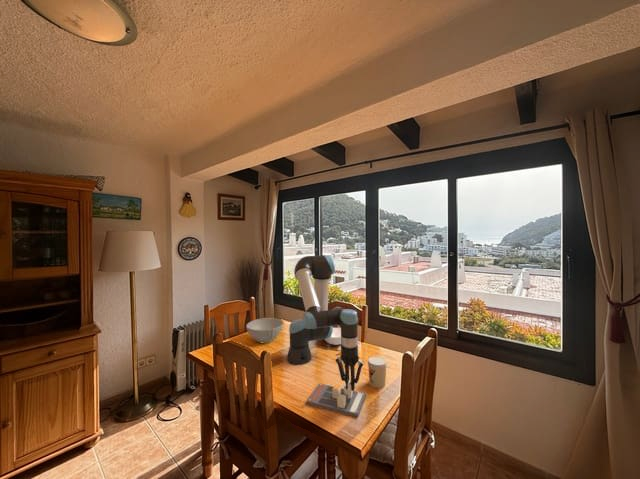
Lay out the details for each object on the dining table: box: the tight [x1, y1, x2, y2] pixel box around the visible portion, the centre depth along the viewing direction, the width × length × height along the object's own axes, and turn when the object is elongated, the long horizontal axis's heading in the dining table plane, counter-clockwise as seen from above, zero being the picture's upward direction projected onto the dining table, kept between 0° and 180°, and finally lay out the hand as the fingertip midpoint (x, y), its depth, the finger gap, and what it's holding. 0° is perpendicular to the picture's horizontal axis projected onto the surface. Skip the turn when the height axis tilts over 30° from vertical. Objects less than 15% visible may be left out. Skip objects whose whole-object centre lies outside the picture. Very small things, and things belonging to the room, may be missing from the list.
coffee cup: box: [367, 356, 387, 389], centre depth 133 cm, size 9×9×12 cm
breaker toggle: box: [332, 385, 341, 399], centre depth 121 cm, size 3×3×4 cm
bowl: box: [324, 327, 342, 346], centre depth 186 cm, size 18×18×7 cm
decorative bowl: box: [245, 317, 284, 344], centre depth 192 cm, size 27×27×12 cm
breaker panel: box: [305, 382, 367, 419], centre depth 121 cm, size 24×15×6 cm, turn 67°
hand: (350, 396), depth 118 cm, fingers closed
